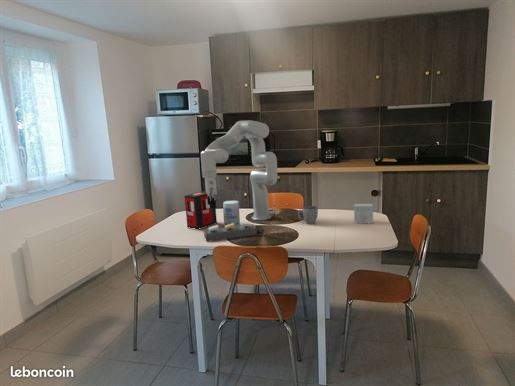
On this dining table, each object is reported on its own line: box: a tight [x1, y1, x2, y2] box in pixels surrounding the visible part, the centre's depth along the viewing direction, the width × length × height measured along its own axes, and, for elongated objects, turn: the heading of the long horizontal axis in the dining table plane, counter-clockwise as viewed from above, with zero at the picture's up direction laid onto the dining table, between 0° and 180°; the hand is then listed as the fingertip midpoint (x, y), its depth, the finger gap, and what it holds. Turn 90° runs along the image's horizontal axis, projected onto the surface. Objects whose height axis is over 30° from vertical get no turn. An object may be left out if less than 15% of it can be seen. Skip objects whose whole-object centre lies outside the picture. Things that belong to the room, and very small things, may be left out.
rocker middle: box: [224, 223, 235, 229], centre depth 212 cm, size 5×4×1 cm
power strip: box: [203, 223, 265, 242], centre depth 213 cm, size 33×8×5 cm, turn 105°
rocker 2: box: [240, 221, 252, 226], centre depth 214 cm, size 5×4×1 cm
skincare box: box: [353, 203, 374, 225], centre depth 225 cm, size 10×6×10 cm, turn 76°
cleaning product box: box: [184, 190, 218, 230], centre depth 236 cm, size 16×9×20 cm, turn 143°
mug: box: [297, 205, 319, 226], centre depth 229 cm, size 12×9×10 cm
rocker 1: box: [207, 224, 220, 231], centre depth 210 cm, size 5×4×1 cm
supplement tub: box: [222, 200, 241, 227], centre depth 232 cm, size 10×10×15 cm
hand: (211, 205), depth 207 cm, fingers open, 8 cm apart
